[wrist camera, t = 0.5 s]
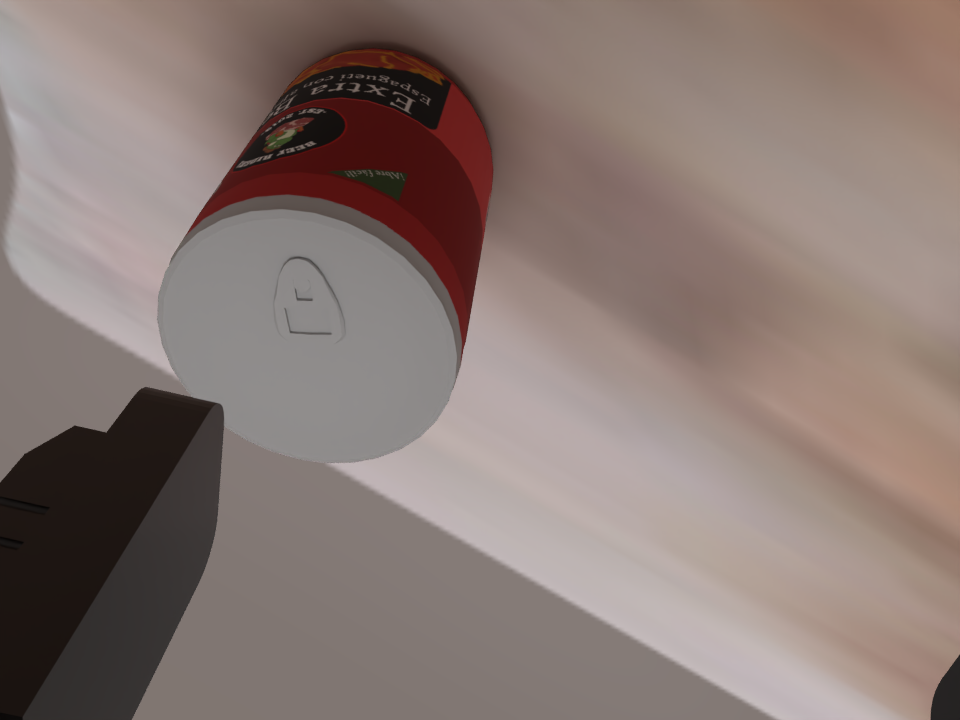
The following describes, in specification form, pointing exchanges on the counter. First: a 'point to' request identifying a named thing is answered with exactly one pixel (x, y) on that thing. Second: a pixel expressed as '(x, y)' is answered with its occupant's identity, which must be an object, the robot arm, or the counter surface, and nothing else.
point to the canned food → (336, 263)
